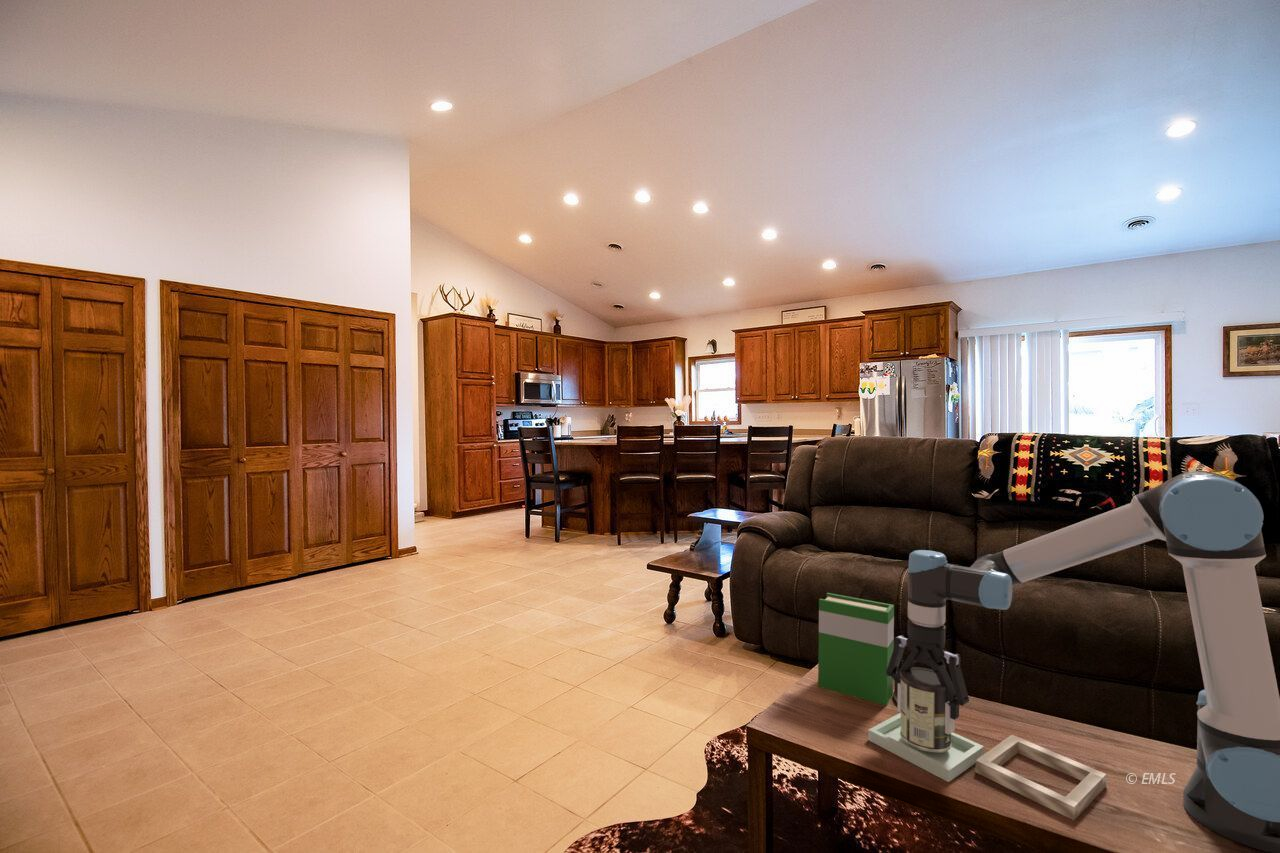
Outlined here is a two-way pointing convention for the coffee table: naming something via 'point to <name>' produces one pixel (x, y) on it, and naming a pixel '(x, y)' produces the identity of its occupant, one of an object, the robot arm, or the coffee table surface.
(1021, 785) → the wooden collar
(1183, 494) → the robot arm
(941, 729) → the coffee can
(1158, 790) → the coffee table surface
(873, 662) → the hardback book
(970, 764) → the tray
